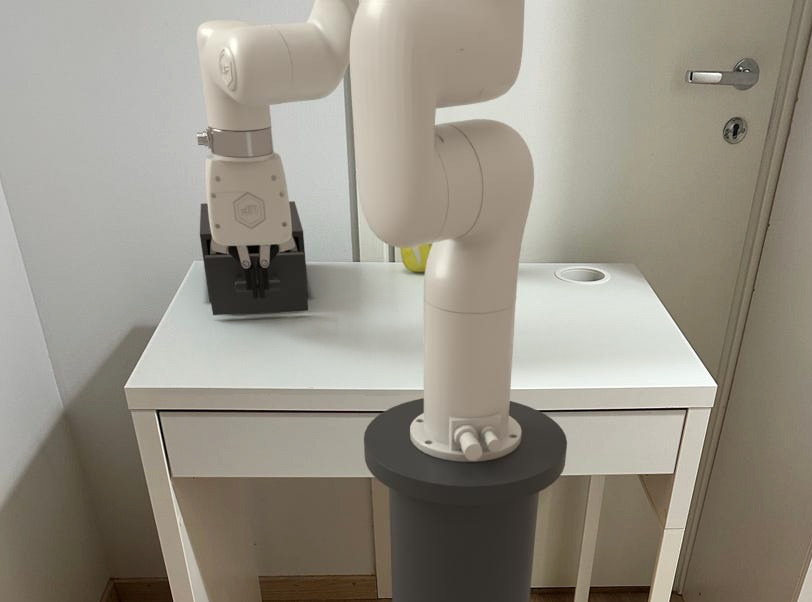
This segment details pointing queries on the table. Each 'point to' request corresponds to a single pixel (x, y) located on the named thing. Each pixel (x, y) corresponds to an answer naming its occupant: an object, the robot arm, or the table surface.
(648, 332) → the table surface
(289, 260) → the drawer
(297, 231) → the grey filing cabinet
